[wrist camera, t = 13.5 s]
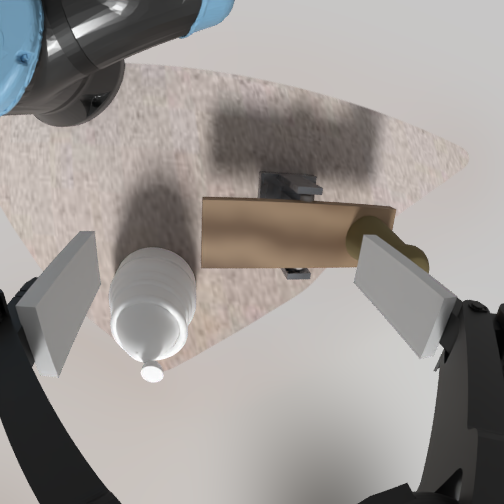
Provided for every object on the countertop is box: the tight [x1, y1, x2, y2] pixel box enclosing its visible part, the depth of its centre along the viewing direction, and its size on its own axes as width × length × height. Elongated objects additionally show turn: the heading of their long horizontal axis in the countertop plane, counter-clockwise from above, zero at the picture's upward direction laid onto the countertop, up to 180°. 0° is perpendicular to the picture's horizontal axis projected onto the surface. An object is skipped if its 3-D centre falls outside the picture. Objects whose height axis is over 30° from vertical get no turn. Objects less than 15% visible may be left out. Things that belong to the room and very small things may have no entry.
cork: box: [345, 216, 429, 274], centre depth 34 cm, size 6×6×11 cm
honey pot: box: [109, 247, 196, 382], centre depth 40 cm, size 13×13×18 cm
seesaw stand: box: [258, 172, 323, 279], centre depth 43 cm, size 12×8×10 cm
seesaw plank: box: [201, 194, 396, 270], centre depth 39 cm, size 9×24×2 cm, turn 86°
